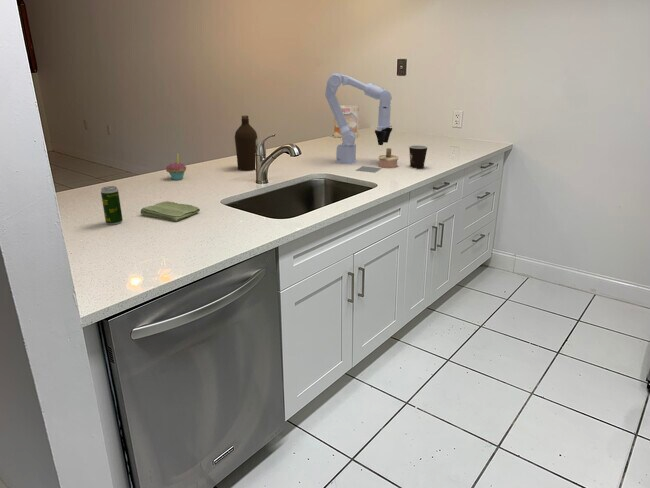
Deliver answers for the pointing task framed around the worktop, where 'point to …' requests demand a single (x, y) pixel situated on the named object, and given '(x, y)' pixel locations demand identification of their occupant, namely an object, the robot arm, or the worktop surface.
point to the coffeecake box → (348, 120)
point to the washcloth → (169, 211)
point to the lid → (388, 156)
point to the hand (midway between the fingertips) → (383, 143)
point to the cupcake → (176, 169)
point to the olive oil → (245, 145)
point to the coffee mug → (417, 156)
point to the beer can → (111, 205)
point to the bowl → (387, 164)
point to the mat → (368, 169)
